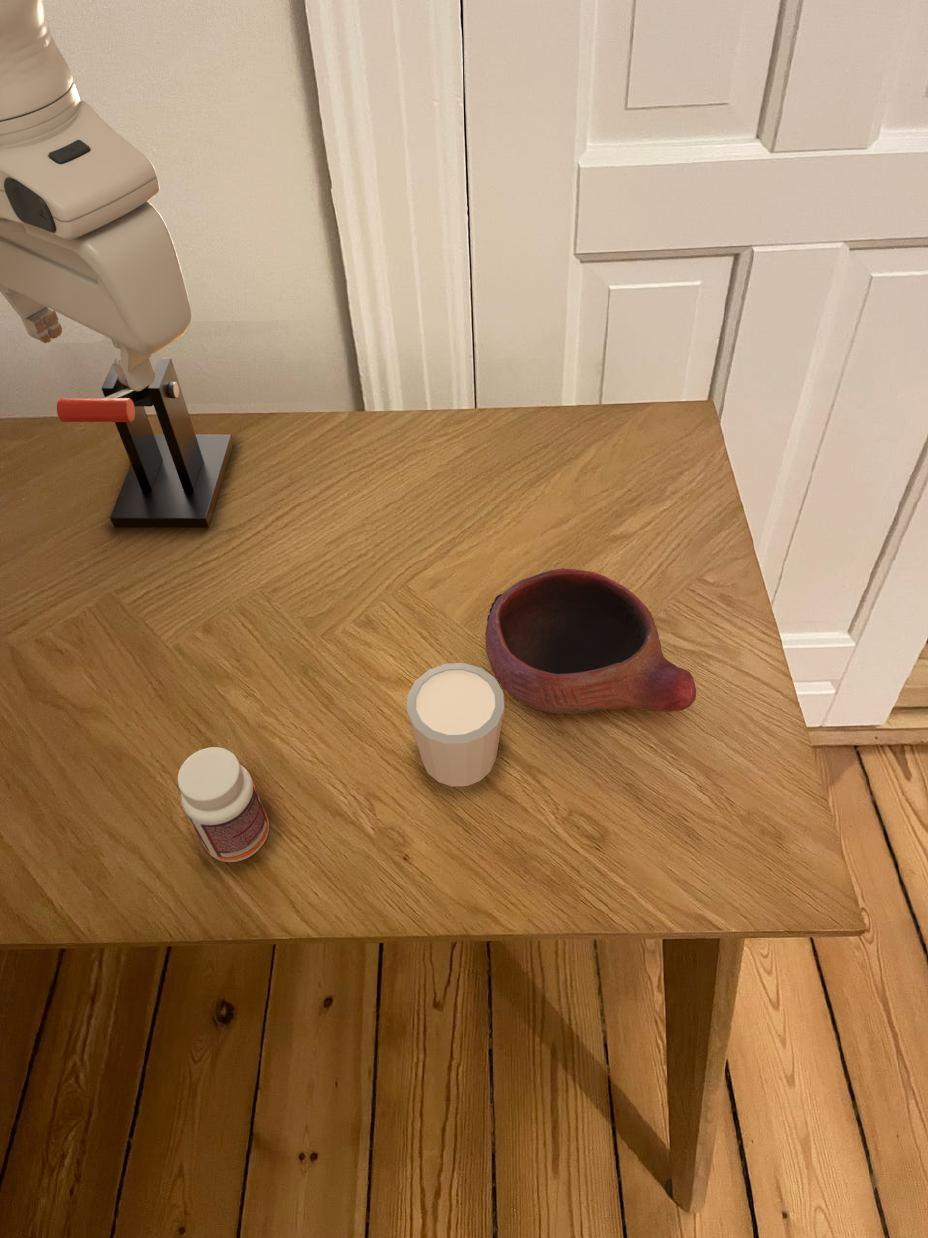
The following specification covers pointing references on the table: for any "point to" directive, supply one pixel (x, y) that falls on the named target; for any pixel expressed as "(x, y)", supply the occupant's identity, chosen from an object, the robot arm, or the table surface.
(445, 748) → the shot glass
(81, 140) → the robot arm
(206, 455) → the clamp
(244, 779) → the pill bottle
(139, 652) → the table surface
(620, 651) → the bowl
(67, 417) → the clamp lever
